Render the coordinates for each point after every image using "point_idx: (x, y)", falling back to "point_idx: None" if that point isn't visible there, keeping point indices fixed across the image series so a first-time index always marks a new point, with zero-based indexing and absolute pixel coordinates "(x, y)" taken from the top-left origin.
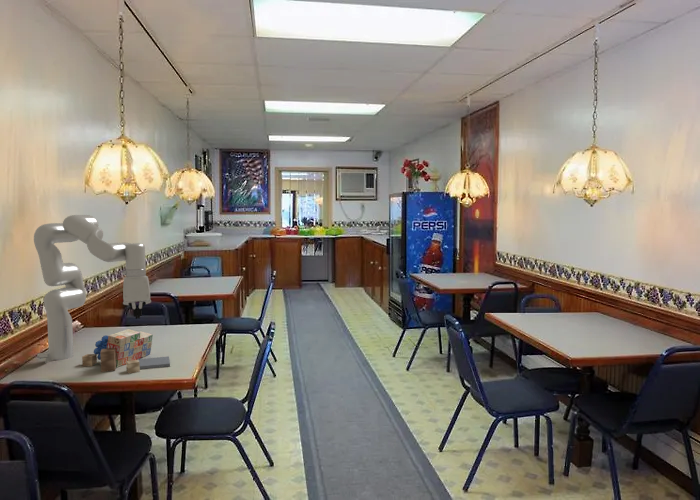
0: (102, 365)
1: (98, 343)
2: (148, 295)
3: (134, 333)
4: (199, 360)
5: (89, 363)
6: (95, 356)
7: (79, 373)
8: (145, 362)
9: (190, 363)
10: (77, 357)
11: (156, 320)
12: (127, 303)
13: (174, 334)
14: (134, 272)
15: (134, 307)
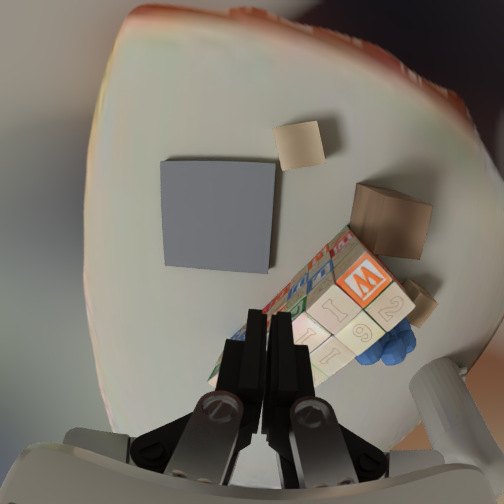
0: (401, 194)
1: (411, 335)
2: (3, 498)
3: None
4: (84, 207)
5: (415, 284)
6: None
7: (445, 207)
8: (247, 213)
9: (105, 179)
10: (409, 368)
11: None
12: (397, 469)
13: None
14: None
15: (306, 419)
